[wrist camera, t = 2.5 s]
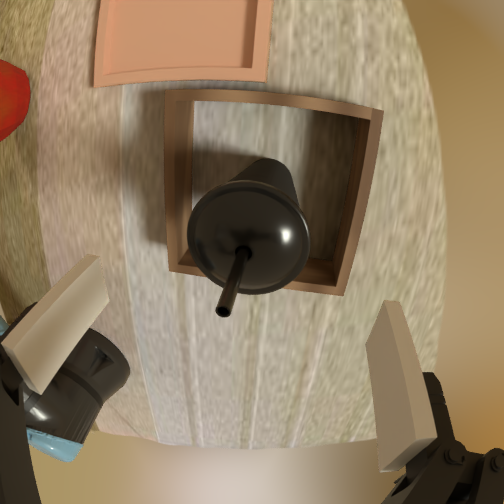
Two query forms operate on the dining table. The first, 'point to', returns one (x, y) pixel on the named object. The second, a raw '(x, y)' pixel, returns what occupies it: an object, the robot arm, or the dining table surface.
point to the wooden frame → (180, 180)
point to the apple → (12, 98)
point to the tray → (182, 41)
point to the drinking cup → (250, 233)
